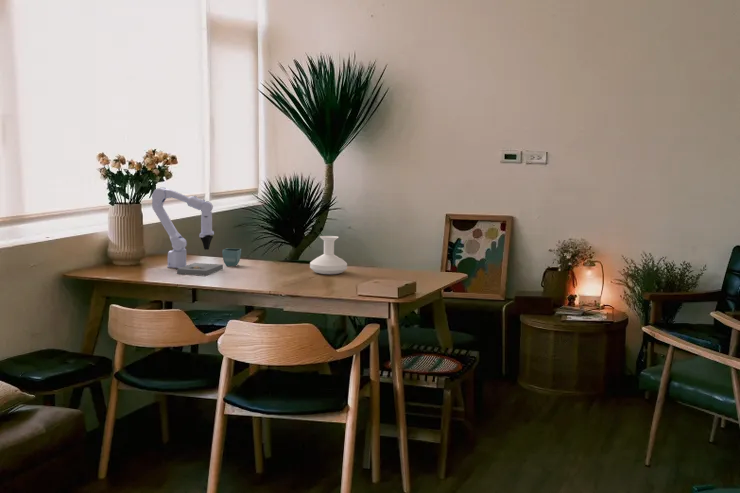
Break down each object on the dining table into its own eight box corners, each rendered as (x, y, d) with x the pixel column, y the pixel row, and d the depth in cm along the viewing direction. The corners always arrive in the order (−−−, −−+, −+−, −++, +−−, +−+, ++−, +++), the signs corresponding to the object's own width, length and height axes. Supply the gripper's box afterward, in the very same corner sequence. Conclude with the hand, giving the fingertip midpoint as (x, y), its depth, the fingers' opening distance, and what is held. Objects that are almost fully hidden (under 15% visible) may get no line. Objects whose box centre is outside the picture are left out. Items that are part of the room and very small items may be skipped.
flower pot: (241, 264, 451) (241, 248, 450) (237, 267, 442) (237, 250, 441) (226, 264, 452) (226, 248, 451) (221, 266, 443) (221, 250, 442)
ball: (198, 273, 419) (195, 267, 418) (194, 274, 421) (190, 269, 420) (202, 269, 422) (199, 264, 421) (198, 270, 424) (194, 265, 423)
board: (177, 273, 416) (177, 268, 416) (194, 267, 438) (194, 262, 437) (206, 275, 413) (206, 270, 413) (222, 269, 435) (222, 264, 434)
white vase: (342, 277, 420) (343, 240, 418) (305, 274, 424) (305, 238, 422) (350, 271, 440) (351, 235, 437) (315, 269, 444) (315, 234, 441)
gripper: (208, 225, 427) (207, 251, 429) (219, 223, 441) (218, 248, 443) (195, 225, 428) (195, 250, 430) (206, 222, 442) (206, 247, 444)
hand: (206, 249), depth 436 cm, fingers closed
